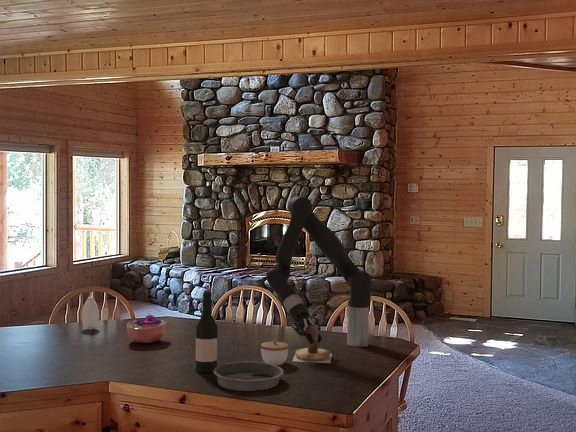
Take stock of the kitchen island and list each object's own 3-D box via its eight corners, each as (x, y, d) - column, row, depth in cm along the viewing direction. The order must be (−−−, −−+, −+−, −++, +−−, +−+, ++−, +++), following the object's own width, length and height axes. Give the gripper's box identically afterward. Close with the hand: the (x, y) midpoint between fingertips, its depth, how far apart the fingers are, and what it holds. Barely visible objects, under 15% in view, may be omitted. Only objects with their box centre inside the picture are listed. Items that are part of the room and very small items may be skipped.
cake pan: (257, 397, 218) (257, 384, 218) (198, 385, 231) (199, 372, 231) (296, 380, 239) (296, 368, 239) (240, 369, 252) (240, 357, 252)
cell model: (116, 344, 286) (116, 318, 286) (143, 335, 305) (143, 311, 304) (149, 349, 280) (150, 322, 280) (175, 339, 298) (175, 314, 298)
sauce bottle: (96, 331, 312) (96, 292, 311) (79, 330, 312) (79, 292, 311) (100, 327, 320) (101, 290, 319) (84, 327, 320) (84, 290, 319)
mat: (331, 354, 276) (331, 353, 276) (330, 363, 261) (330, 362, 261) (295, 352, 278) (295, 352, 278) (292, 362, 263) (292, 361, 263)
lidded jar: (290, 362, 263) (291, 338, 263) (284, 369, 253) (285, 344, 252) (264, 360, 266) (265, 336, 265) (257, 366, 255) (257, 342, 255)
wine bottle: (213, 374, 244) (214, 292, 243) (191, 372, 246) (192, 291, 244) (220, 368, 252) (221, 289, 251) (199, 366, 254) (200, 288, 253)
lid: (330, 351, 276) (331, 322, 275) (329, 360, 262) (329, 329, 261) (297, 350, 277) (297, 321, 277) (293, 358, 264) (294, 328, 263)
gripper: (288, 304, 269) (309, 339, 261) (312, 300, 279) (333, 334, 271) (278, 315, 273) (299, 350, 265) (303, 311, 283) (323, 344, 275)
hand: (316, 341), depth 268 cm, fingers closed on lid, 4 cm apart
